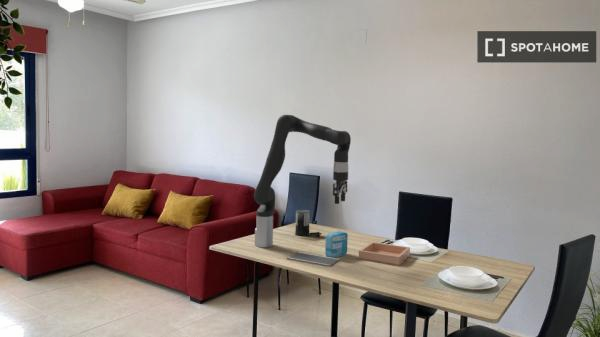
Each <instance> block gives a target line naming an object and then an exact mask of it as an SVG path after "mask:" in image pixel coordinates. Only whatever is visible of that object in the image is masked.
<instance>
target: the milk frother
mask: <svg viewBox="0 0 600 337" xmlns="http://www.w3.org/2000/svg"><path fill="white" fill-rule="evenodd" d="M310 213H311V211H310V210H308V209H297V210H295V230H294V232H295V233H294V235H295V236H298V237H299V236H300V237H307V236H316V237H320V236H321V235H322V232H320V231H315V232H310V219H311V218H310V216H311V215H310Z"/></svg>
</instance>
